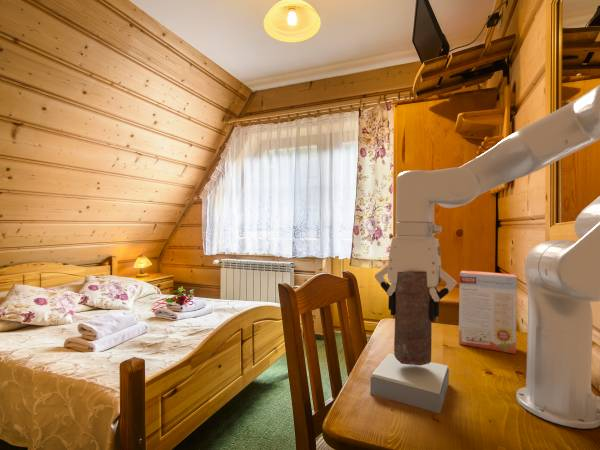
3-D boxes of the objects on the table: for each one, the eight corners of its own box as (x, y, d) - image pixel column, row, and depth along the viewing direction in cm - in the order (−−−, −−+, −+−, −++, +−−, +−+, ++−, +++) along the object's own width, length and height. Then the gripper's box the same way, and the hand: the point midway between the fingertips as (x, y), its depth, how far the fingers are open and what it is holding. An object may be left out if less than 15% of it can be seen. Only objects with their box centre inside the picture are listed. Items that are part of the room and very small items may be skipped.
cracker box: (515, 347, 93) (516, 273, 93) (516, 355, 88) (517, 276, 87) (459, 338, 100) (461, 269, 100) (458, 344, 95) (459, 271, 95)
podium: (448, 384, 71) (448, 365, 71) (440, 413, 60) (440, 391, 60) (388, 369, 77) (388, 352, 77) (370, 393, 66) (370, 373, 66)
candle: (435, 372, 64) (436, 269, 64) (396, 370, 65) (397, 268, 65) (426, 357, 72) (427, 265, 72) (392, 355, 73) (392, 264, 73)
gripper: (462, 231, 67) (461, 319, 67) (378, 230, 76) (377, 307, 76) (459, 232, 61) (457, 328, 61) (367, 230, 69) (366, 314, 69)
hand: (413, 316), depth 68 cm, fingers closed on candle, 7 cm apart
